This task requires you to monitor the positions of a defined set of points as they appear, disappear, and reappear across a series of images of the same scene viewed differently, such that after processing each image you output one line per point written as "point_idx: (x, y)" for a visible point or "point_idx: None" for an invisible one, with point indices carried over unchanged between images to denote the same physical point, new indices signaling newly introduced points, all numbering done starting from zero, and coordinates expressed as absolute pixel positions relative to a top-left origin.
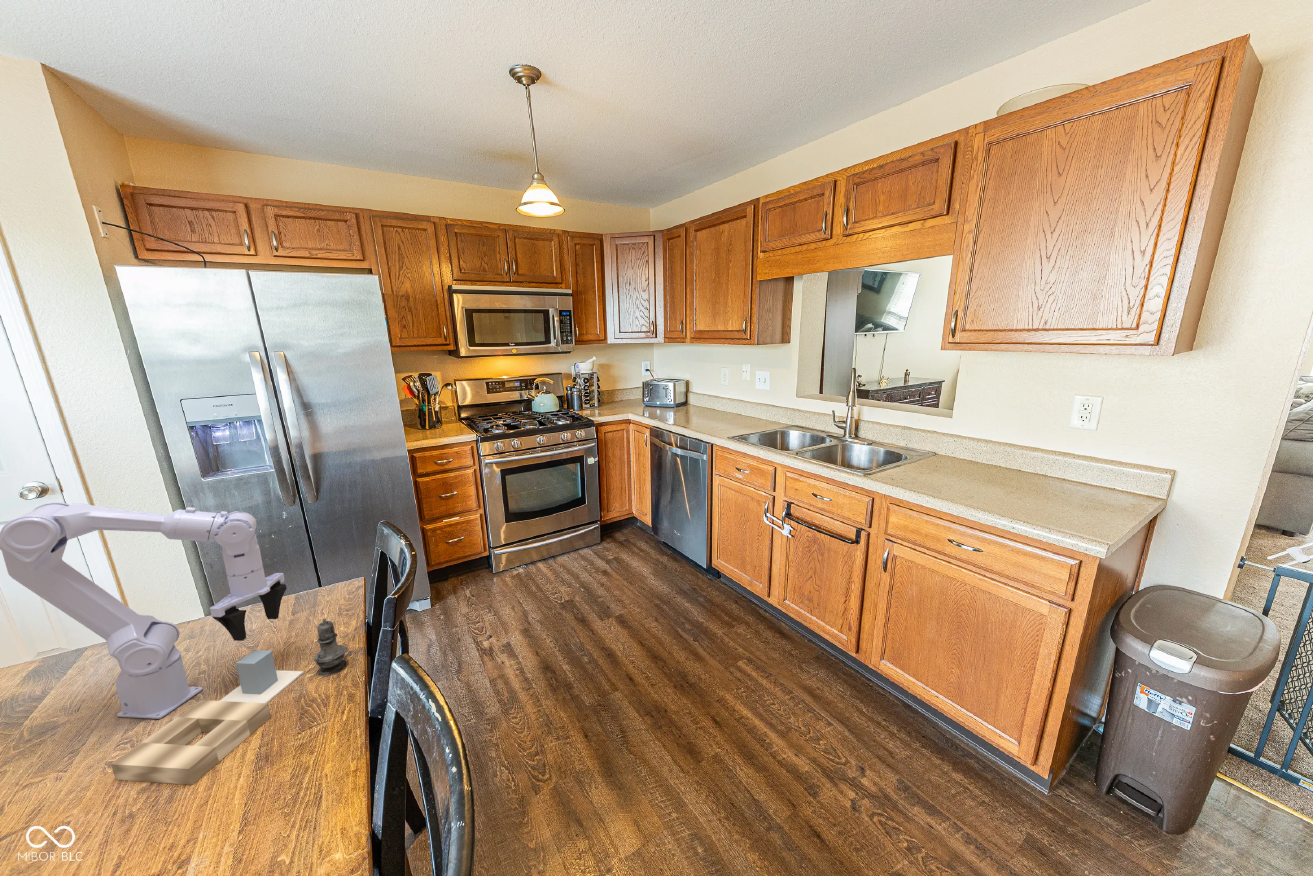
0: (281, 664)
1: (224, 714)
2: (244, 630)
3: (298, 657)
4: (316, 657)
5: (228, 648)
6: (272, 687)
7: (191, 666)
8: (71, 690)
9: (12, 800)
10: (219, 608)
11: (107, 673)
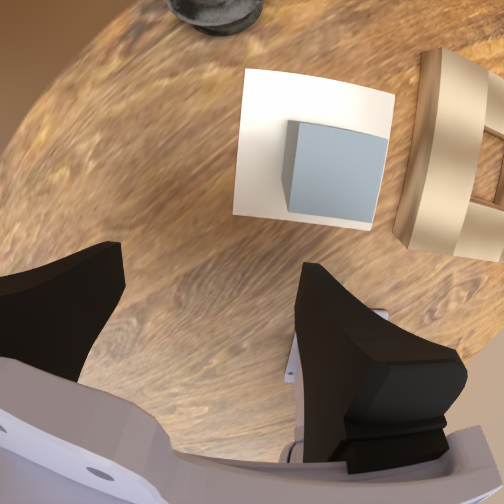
0: (200, 177)
1: (469, 141)
2: (323, 282)
3: (166, 149)
4: (240, 7)
5: (153, 357)
6: (319, 114)
7: (216, 379)
8: (273, 455)
9: (483, 346)
10: (496, 484)
11: (238, 450)
